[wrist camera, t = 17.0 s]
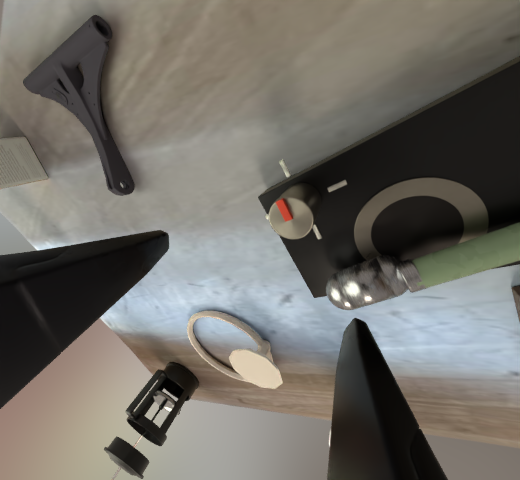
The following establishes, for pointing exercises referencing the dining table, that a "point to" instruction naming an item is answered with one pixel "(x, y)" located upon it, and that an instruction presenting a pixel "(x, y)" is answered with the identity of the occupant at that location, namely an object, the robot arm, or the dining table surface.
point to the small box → (18, 163)
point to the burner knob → (295, 211)
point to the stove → (414, 168)
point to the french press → (176, 384)
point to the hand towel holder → (241, 354)
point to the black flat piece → (84, 92)
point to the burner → (419, 218)
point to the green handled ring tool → (421, 269)
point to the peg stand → (517, 298)
